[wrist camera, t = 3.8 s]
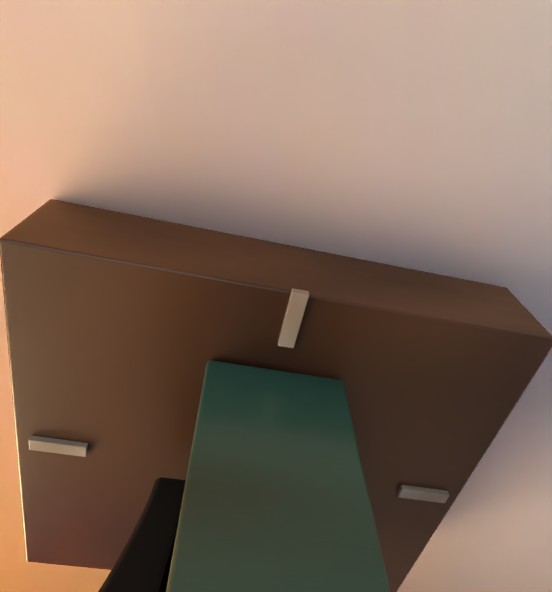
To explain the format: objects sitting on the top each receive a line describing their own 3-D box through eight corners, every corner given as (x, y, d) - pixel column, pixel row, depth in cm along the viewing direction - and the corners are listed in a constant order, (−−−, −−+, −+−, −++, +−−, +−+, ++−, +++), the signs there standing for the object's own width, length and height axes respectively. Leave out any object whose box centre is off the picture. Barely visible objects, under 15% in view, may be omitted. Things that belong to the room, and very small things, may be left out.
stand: (508, 283, 12) (564, 341, 10) (376, 531, 18) (392, 605, 16) (50, 193, 11) (-8, 237, 9) (57, 493, 16) (23, 569, 14)
